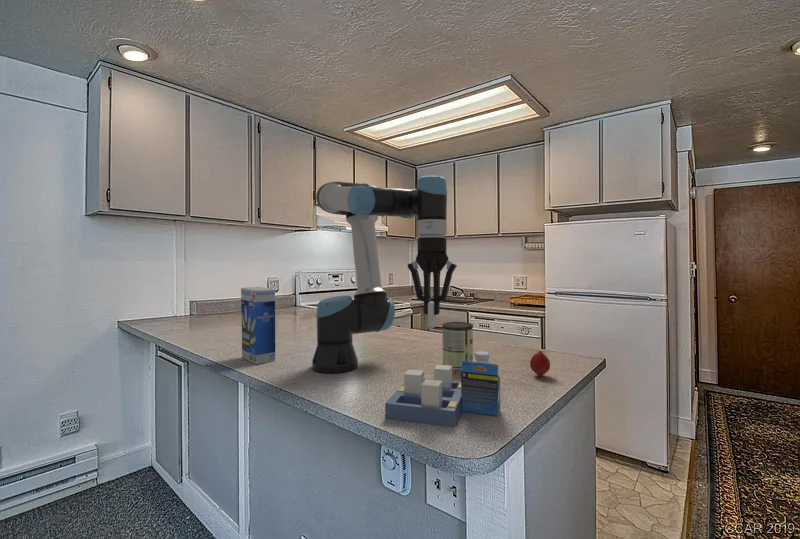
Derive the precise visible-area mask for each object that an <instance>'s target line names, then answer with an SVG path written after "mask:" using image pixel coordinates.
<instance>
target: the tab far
mask: <svg viewBox="0 0 800 539" xmlns="http://www.w3.org/2000/svg"><path fill="white" fill-rule="evenodd" d="M433 379H434V380H438V381H442V388H452V381H453V370H452V366H449V365H443V364H436V366H435V367H434V368H433Z"/></svg>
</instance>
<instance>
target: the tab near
mask: <svg viewBox="0 0 800 539" xmlns="http://www.w3.org/2000/svg"><path fill="white" fill-rule="evenodd" d="M424 379H425V381H424V382H423V383H422V385H421V405H423V406H432V407H441V408H442V381H438V380H427V379H428V378H424Z"/></svg>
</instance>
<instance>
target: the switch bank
mask: <svg viewBox="0 0 800 539" xmlns="http://www.w3.org/2000/svg"><path fill="white" fill-rule="evenodd" d="M425 379H427V380H434V378H424V381H425ZM384 404H385V405H384V410H385V411H384V414H385V415H384V419H388V420H394V421H395V420H396V421H403V422H410V423H411V422H412V423H418V424H419V423H420V424H426V425H435V426H442V427H449V428H450V427H451V428H455V427H456V425H457V422H458V420H459V417H460V415H461V412H462V410H461V381H456V380H452V388H442V408H441V407H432V406H423V405H421V395H419V394H410V393H404V383H402V384H401V386H399V387H398V389H397V390H396V391H395V392H394V393H393V395H391V396H390V397H389V399H388V400H387V401H385V403H384Z"/></svg>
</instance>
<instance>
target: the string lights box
mask: <svg viewBox="0 0 800 539" xmlns="http://www.w3.org/2000/svg"><path fill="white" fill-rule="evenodd" d="M240 298H241V299H240V301H241V303H240V305H241V306H240V307H241V310H240V311H241V312H240V313H241V316H240V317H241V358H243V359H244V360H246V361H249V362H250V363H253V364H254V365H256V364H257V365H261V364H260V363H263V364H266V363H265V362H268V363H271V362H270V361H273V362H276V361H275V360H276V289H273V288H272V289H271V288H267V287H262V286H250V287H241V288H240Z"/></svg>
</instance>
